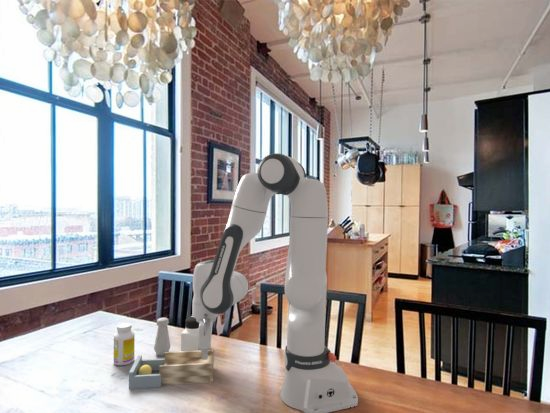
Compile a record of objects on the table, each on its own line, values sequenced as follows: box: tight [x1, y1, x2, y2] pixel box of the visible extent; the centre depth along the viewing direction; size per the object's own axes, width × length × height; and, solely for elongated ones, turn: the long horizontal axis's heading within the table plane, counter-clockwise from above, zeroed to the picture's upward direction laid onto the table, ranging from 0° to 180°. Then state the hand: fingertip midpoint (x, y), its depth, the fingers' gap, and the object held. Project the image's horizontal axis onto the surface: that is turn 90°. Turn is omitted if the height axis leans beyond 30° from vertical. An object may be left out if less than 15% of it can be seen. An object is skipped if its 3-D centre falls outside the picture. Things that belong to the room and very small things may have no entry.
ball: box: [138, 365, 152, 375], centre depth 106 cm, size 4×4×4 cm
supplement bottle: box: [113, 322, 135, 366], centre depth 117 cm, size 7×7×13 cm
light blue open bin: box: [128, 355, 165, 390], centre depth 106 cm, size 9×11×5 cm
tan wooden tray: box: [159, 349, 215, 386], centre depth 108 cm, size 16×10×6 cm, turn 99°
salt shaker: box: [153, 317, 171, 357], centre depth 124 cm, size 6×6×13 cm
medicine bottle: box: [180, 315, 199, 351], centre depth 128 cm, size 7×7×12 cm
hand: (205, 351), depth 109 cm, fingers open, 8 cm apart
